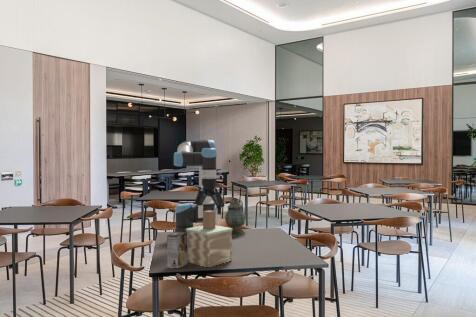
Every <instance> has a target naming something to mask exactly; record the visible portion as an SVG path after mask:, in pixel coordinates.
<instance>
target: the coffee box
mask: <svg viewBox="0 0 476 317" xmlns="http://www.w3.org/2000/svg"><path fill="white" fill-rule="evenodd" d="M166 243H167V244H166V246H167V248H166V250H167V252H166V255H167V257H166V258H167V262H166V263H167V264H166V265H167V266H166V267H167V269H173V268H179V269H181V268H182V267H184V266H186V265H188V262H187V233H186V232H175V233H174V232H173V233H169V234H167V235H166ZM180 267H181V268H180Z"/></svg>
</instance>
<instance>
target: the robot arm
mask: <svg viewBox="0 0 476 317" xmlns="http://www.w3.org/2000/svg"><path fill="white" fill-rule="evenodd" d="M217 158H218V153H217V146H216V142H215V140H213V139H189V140H186V141H183V142H181V143H180V144H179V145H178V146H177V151H175V152H174V153H173V166H175V167H198V191H197V193H196V194H197V195H196V197H195V201H194V203H193V202H185V203H180V204H177V205H176V206H175V211H174V214H175V222H174V224H175V227H174V231H173V233H175V232H186V233H187V231H186V229H187V228H193V227H194V224H203V211H208V210H211V211H215V222H219V221H220V222H221V221H222V220H221V218H222V217H221V215H222V208H224V207H225V202H224V199H223V197H222V194H221V188H220V187H216V186H217V179H216V178H217Z"/></svg>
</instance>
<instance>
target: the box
mask: <svg viewBox="0 0 476 317" xmlns="http://www.w3.org/2000/svg"><path fill="white" fill-rule="evenodd" d="M232 237H233V236H232V231H227V232H223V233H218V234H213V235H209V236H207V235H202V234H198V233H194V232H190V231H187V263H189V264H193V265H196V266H199V265H200V266H199V267H202V266H204V267H203V268H205V267H211V268H213V267H212V266H214V267H216V266H215V265H218V266H220V265H219V264H221V265H223V264H222V263H224V264H227V263H226V262H228V263H230V262H229V261H231V262H232V261H233V260H232V259H233V254H232V253H233V250H232V249H233V246H232V244H233V239H232Z"/></svg>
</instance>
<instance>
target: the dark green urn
mask: <svg viewBox="0 0 476 317" xmlns="http://www.w3.org/2000/svg"><path fill="white" fill-rule="evenodd" d="M243 208H244V206H243V205H242V204H241V202H240V201H239V200H238V198H237V197H234V198H233V199H232V200H230V201H229V204H228V206H227V211H226V213H225V216H224V219H225V223H226V225H227V227H228V228H232V237H234V236H235V237H237V236H244V235H245V234H246V232H245V231H244V230H243V229H242V228H241V227H243V225H244V224H245V222H246V213H245V212H244V210H243Z"/></svg>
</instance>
